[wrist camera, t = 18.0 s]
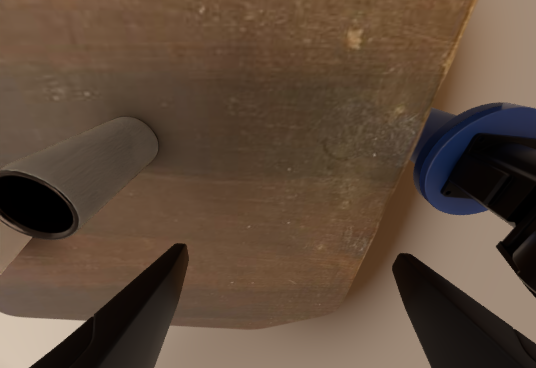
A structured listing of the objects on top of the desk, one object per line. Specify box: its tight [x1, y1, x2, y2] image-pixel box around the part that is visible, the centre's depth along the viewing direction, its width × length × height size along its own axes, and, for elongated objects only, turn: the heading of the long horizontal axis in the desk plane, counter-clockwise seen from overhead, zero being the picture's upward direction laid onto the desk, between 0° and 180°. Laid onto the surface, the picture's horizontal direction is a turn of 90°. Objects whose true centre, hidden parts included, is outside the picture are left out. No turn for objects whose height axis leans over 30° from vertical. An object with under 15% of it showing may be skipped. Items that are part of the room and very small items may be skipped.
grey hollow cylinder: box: [0, 117, 158, 240], centre depth 16 cm, size 4×4×10 cm
